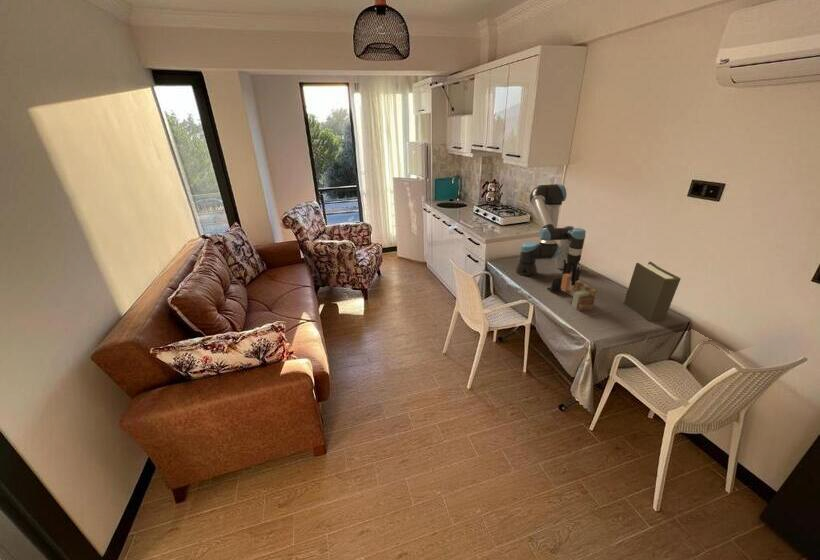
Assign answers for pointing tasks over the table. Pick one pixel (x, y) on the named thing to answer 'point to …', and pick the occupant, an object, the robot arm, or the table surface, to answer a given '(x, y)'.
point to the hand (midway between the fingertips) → (568, 287)
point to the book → (651, 291)
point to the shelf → (586, 301)
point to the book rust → (567, 281)
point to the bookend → (555, 284)
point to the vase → (562, 253)
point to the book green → (579, 296)
